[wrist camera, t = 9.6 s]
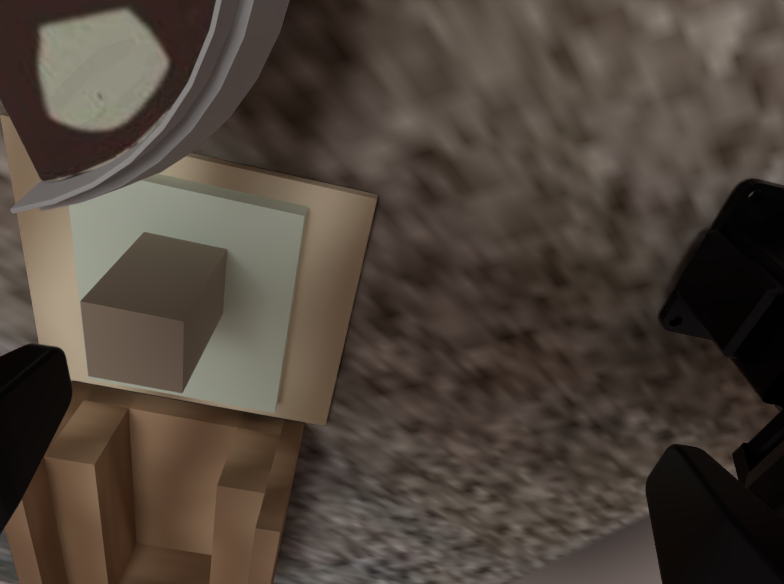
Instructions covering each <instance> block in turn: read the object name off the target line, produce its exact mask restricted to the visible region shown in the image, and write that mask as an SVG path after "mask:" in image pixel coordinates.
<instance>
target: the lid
mask: <svg viewBox="0 0 784 584" xmlns="http://www.w3.org/2000/svg"><path fill="white" fill-rule="evenodd" d="M69 212H70V221H71V230H72V239H73V248H74V257H75V266H76V275H77V284H78V293H79V302H80V311H81V320H82V329H83V338H84V347H85V356H86V366H87V375H88V379H91V380H96V381H102V382H107V383H113V384H118V385H124V386H129V387H135V388H140V389H146V390H151V391H157V392H162V393H168V394H173V395H179V396H184V397H190V398H195V399H201V400H206V401H211V402H217V403H222V404H228V405H233V406H239V407H244V408H250V409H255V410H261V411H266V412H272V413H275V411H276V407H277V404H278V400H279V394H280V387H281V381H282V374H283V368H284V361H285V355H286V348H287V342H288V335H289V329H290V322H291V316H292V309H293V303H294V296H295V290H296V283H297V277H298V270H299V264H300V257H301V251H302V244H303V238H304V231H305V225H306V219H307V212H308V206H303V205H298V204H294V203H289V202H285V201H280V200H276V199H271V198H267V197H262V196H258V195H253V194H248V193H244V192H239V191H235V190H230V189H226V188H221V187H217V186H212V185H208V184H203V183H199V182H194V181H189V180H185V179H180V178H176V177H171V176H167V175H162V174H155V175H153V176H150V177H148V178H145V179H143V180H140V181H138V182H135V183H133V184H131V185H128V186H126V187H123V188H120V189H118V190H115V191H112V192H109V193H107V194H104V195H101V196H98V197H96V198H93V199H90V200H87V201H85V202H82V203H78V204H73V205H69Z"/></svg>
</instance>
